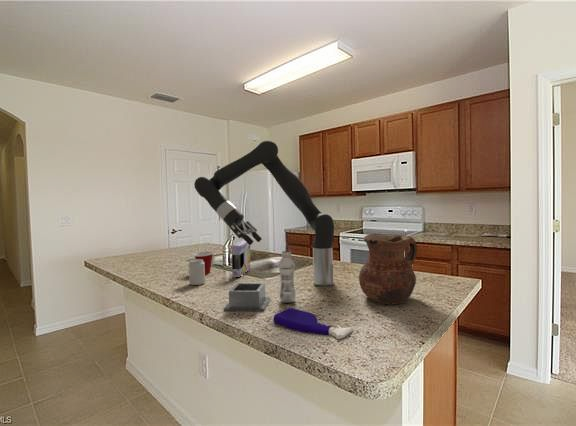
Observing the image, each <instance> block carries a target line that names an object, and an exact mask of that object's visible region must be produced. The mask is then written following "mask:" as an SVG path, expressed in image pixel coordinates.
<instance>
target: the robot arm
mask: <svg viewBox="0 0 576 426" xmlns="http://www.w3.org/2000/svg"><path fill="white" fill-rule="evenodd" d="M278 153H279V148H278V145H277V144H276V142H274V141H272V140H268V139H267V140H263V141H261V142H260V143H259V144H257V146H256V147H254V149H253V150H251V151H250V152H248V153H247V154H245V155H244V156H242V157H240V158H238V159H236V160H234V161H232V162H230V163H228V164H226V165H224V166H223V167H221V168H219V169H218V170H216V171H215V172H214V173H213V176H212V177H211V178H210V179H209V178H208V177H205V176H199V177H197V178H196V179H195V181H194V185H193V186H194V189H195V191H196V192H197V194H198V195H199V196H200V197H202V198H204V199H205V201H207V203H208V205H209V206H210V207H211V209H212V210H214V211H215V212H216V214H217V216H219V218H220V219H221V220H222V221H223V222H224V223H225V224H226V225H227V226H228V228H229V229H230V230H231V231H232V233H233V234H235V236H236V237H238V238H237V239H241V240H245V241H246V242H247V243H248V244H249V245H250V246H251V245H253V243H254V240H255V241H256V242H257V243H260V242H261V241H262V240H263V239H262V237H261V236H260V235H259V234H258V233H257V232H258V229H257V228H256V227H255V226H253V225H252V223H251V222H250V221H249V220H247V221H244V220H243V219H244V218H245V215H244V214H243V213H242V212H241V211H240V210H239V209H238V208H237V207H236V206H235V205H234V204H233V203H232V202H231V201H229V200H228V198H226V196H225V195H223V194H222V193H221V192H220V190H221V189H222V188H223V187H225V186H226V185H228V184H230V183H231V182H233V181H234V180H237V179H238V178H240V177H241V176H242V175H244V174H245V173H247V172H248V171H250V170H252V169H253V168H255V167H257V166H259V165H263V166H264V168H265V169H266V170H267V171H269V172H270V174H271V176H273V178H274V179H275V181H276V183H277V184H278V185H279V186H280V188H281V190H282V191H283V192H284V194H285V195H286V196H287V198H289V200H290V201H291V202H292V203H293V205H294V206H295V207H296V208H297V209H298V210H299V211H300V212H301V213H302V215H303V217H304V218H305V220H306V221H307V223H308V225H309V226H310V228H311V229H312V230H313V231H314V233H315V235H314V240H313V241H312V260H313V261H312V262H313V265H312V266H313V270H312V271H313V284H314V285H317V286H322V287H323V286H325V287H326V286H330V285H331V286H332V285H334V263H333V259H334V257H333V243H334V239H335V224H334V223H335V222H334V220H333V217H332V216H331V215H330V214H327V213H322V212H321V211H320V209H319V208H318V207H317V206H316V205H315V204H314V201H313V200H312V197H311V196H310V195H311V194H310V193H309V189H307V187H306V186H305V185H304V183H303V182H302V180H301V179H300V178H299V177H298V176H297V175H296V174H295V173H294V172H293V171H292V170H290V168H288V167H287V166H286V165H285V164H284V163H283V162H282V160H281V159H280V158H279V156H278ZM250 236H251V237H253V239H254V240H253V239H252V238H251V237H250Z"/></svg>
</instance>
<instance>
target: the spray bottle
mask: <svg viewBox="0 0 576 426" xmlns="http://www.w3.org/2000/svg"><path fill="white" fill-rule="evenodd" d="M273 323H274V324H276V325H278V326H280V327H284V328H286V329H289V330H292V331H293V330H294V331H297V332H301V333H307V334H308V333H309V334H316V335H317V334H319V335H330V336H333V337H334V338H336V340H340V339H344V338H345V337H346V336H347V335H349V334H350V333H352V331H353V328H352V326H350V327H341V326H339V325H338V324H337V325H336V328H335V327H333V326H332V325H326V324H322V323H321V322H318V318H317V316H316V315H315V314H314V313H312V312H309V311H305V310H301V309H297V308H293V307H292V308H291V307H288V308H286V309H284V310H282V311H280V312H278V313H276V314H275V315H273Z"/></svg>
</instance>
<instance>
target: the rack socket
mask: <svg viewBox="0 0 576 426" xmlns="http://www.w3.org/2000/svg"><path fill="white" fill-rule="evenodd" d="M270 301H271V297H270V296H266V283H265V282H237V283H236V284H235V285H234V286H232V287H231V289H230V290H229V291H228V303H227V304H226V305H225V306H224V307H223V311H224V312H265V310H266V308H267V306H268V304H269V302H270Z"/></svg>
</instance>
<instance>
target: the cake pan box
mask: <svg viewBox="0 0 576 426" xmlns="http://www.w3.org/2000/svg"><path fill="white" fill-rule="evenodd" d="M250 270H251V245H249V244H248V243H247V242H246V241H245V240H244V239H242V240H241V241H239V242H236V243H235V244H232V245H231V273H232V274H231V275H232V277H240V276H241V275H242V274H244V273H245V272H247V271H248V272H250ZM248 272H247V273H248ZM245 274H246V273H245ZM245 274H244V275H245ZM240 278H241V277H240Z"/></svg>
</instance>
